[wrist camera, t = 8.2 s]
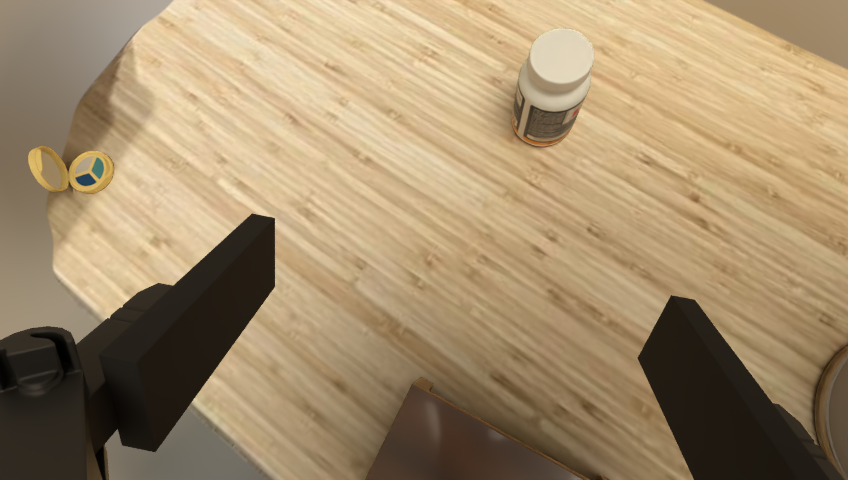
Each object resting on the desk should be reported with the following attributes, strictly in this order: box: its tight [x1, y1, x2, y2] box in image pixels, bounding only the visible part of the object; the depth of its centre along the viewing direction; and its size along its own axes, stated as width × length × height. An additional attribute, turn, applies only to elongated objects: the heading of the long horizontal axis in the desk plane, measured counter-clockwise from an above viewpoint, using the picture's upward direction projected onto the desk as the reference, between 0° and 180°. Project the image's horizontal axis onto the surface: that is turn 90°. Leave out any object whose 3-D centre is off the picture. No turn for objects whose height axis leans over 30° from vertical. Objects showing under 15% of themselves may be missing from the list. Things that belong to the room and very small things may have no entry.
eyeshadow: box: [29, 146, 114, 193], centre depth 43 cm, size 4×5×5 cm
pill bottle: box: [512, 28, 594, 146], centre depth 37 cm, size 6×6×10 cm
